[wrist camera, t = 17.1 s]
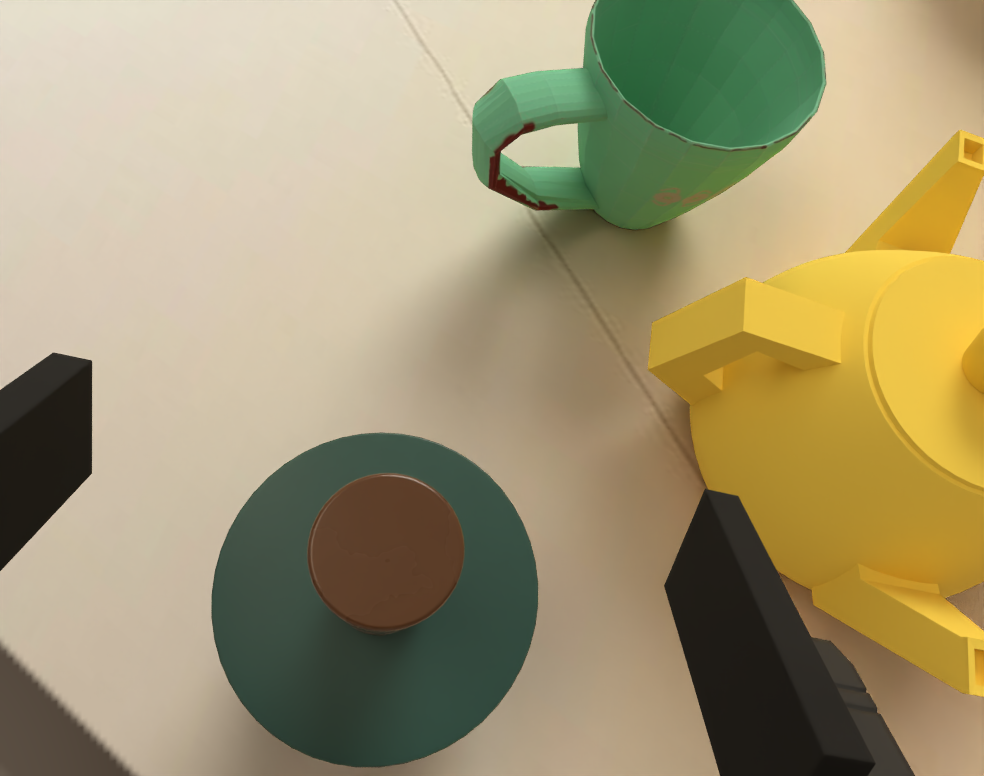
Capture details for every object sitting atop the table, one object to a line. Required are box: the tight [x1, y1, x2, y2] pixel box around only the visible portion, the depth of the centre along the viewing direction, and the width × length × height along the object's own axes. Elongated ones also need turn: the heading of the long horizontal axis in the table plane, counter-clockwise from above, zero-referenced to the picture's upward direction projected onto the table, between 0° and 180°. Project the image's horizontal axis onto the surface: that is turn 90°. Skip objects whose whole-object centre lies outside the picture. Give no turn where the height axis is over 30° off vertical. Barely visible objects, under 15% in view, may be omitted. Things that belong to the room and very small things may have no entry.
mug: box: [472, 0, 826, 230], centre depth 33 cm, size 15×10×10 cm
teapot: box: [648, 130, 984, 697], centre depth 30 cm, size 17×17×12 cm
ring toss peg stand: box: [212, 433, 538, 767], centre depth 16 cm, size 9×9×10 cm
